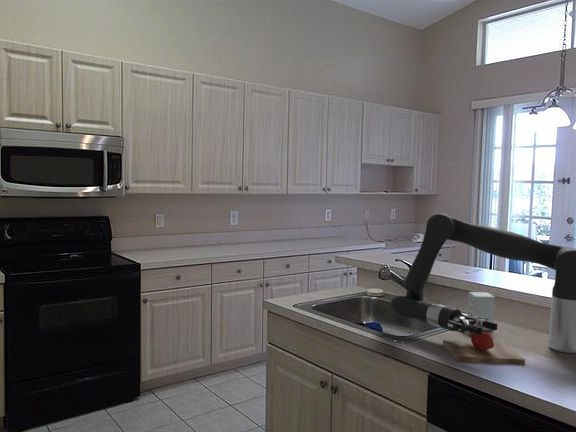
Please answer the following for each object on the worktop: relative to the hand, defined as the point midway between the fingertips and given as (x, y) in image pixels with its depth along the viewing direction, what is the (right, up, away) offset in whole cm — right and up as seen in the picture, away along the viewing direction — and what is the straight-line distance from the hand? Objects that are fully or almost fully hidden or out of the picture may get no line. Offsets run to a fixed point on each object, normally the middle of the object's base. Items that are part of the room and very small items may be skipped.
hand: (489, 329), depth 147 cm
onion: (+1, -5, -1) cm, 5 cm away
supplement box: (+10, -7, +32) cm, 34 cm away
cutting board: (-1, -8, +3) cm, 9 cm away
